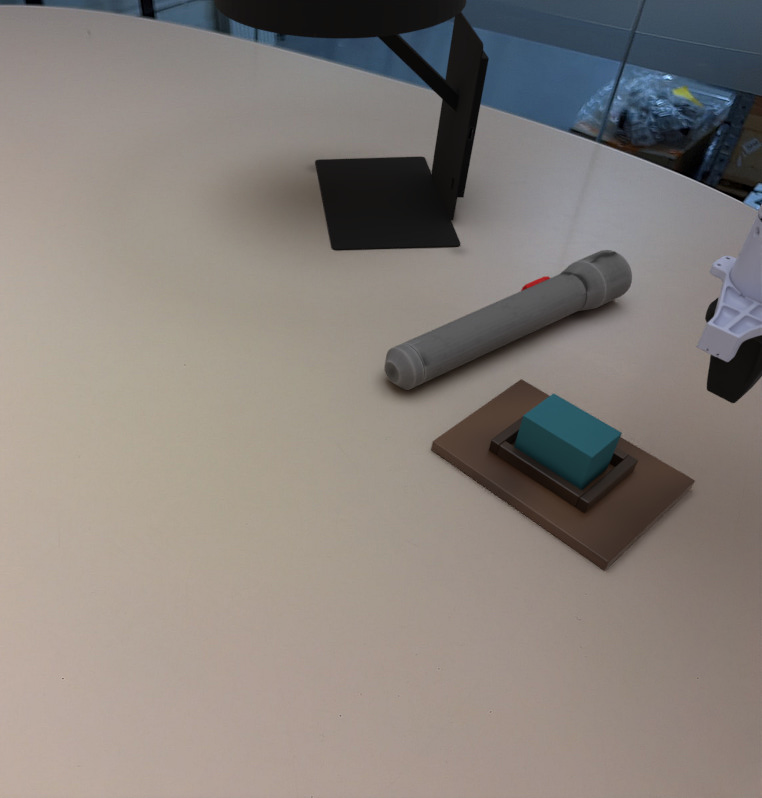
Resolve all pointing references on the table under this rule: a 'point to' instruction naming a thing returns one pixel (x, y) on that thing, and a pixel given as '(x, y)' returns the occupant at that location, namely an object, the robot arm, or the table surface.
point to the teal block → (567, 440)
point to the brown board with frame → (563, 480)
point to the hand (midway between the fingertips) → (724, 392)
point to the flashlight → (509, 318)
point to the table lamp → (392, 176)
